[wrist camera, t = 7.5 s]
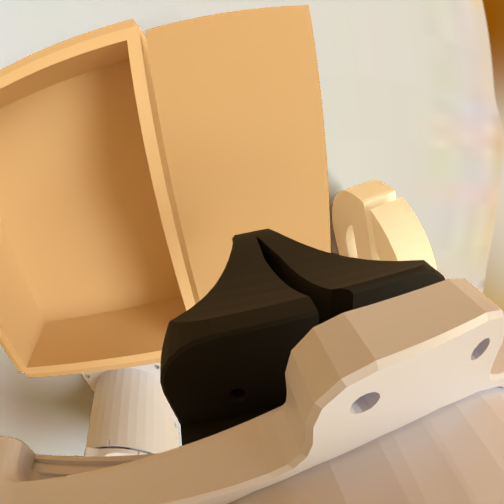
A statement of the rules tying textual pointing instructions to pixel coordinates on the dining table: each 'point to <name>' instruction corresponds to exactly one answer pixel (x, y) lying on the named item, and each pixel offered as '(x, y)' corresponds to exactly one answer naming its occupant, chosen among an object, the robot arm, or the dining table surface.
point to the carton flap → (242, 130)
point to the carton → (87, 209)
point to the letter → (378, 225)
